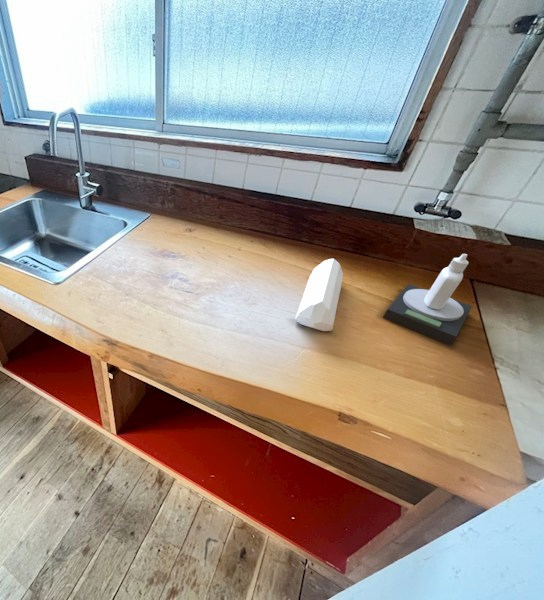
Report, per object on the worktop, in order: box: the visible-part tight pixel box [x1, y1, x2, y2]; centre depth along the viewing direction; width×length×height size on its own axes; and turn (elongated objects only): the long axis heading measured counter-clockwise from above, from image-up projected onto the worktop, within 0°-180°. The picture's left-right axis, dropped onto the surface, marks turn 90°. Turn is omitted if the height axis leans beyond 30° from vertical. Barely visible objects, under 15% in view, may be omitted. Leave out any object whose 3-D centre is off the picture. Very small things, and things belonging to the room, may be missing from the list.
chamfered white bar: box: [294, 257, 344, 332], centre depth 74 cm, size 7×7×24 cm
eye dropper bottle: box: [424, 253, 469, 310], centre depth 66 cm, size 4×6×12 cm
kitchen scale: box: [382, 283, 473, 346], centre depth 70 cm, size 12×14×3 cm
